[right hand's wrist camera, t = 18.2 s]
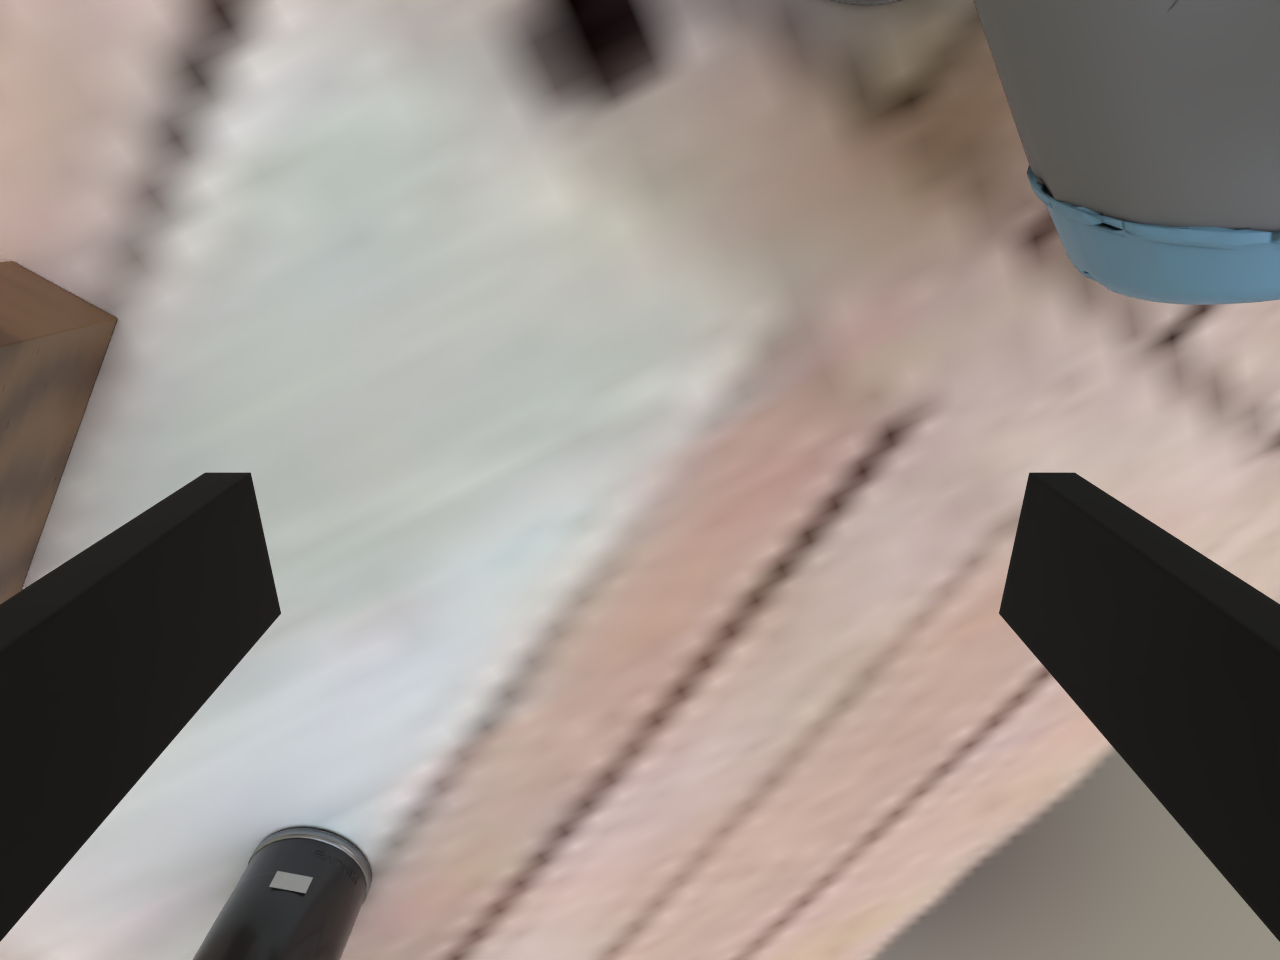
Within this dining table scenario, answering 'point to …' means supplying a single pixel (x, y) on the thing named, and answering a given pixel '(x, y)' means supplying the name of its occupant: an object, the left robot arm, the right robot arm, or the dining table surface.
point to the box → (39, 403)
